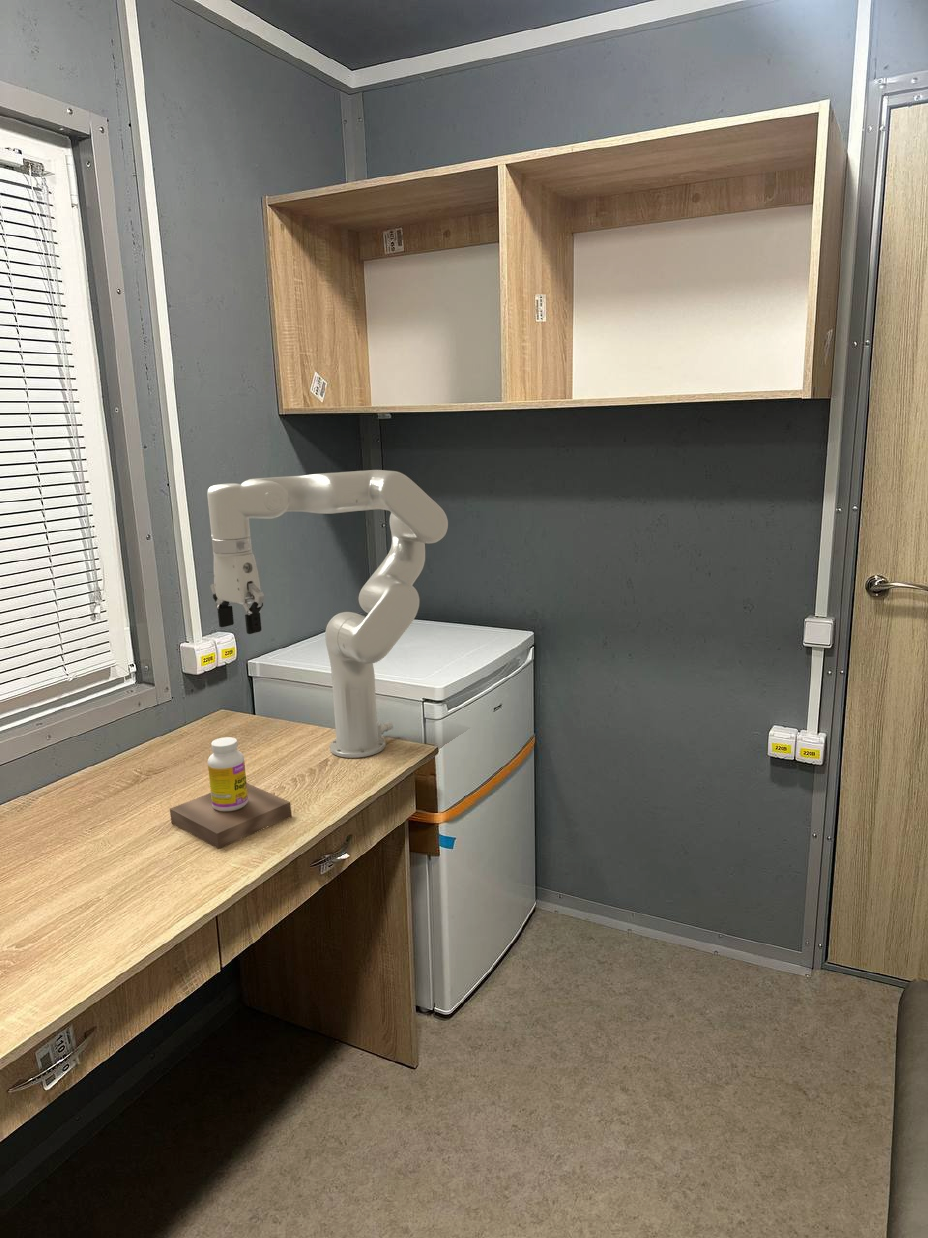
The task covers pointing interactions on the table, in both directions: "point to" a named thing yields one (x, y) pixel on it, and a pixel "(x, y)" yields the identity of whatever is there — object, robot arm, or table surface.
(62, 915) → the table surface
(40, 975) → the table surface
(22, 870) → the table surface
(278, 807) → the block
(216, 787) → the supplement bottle
